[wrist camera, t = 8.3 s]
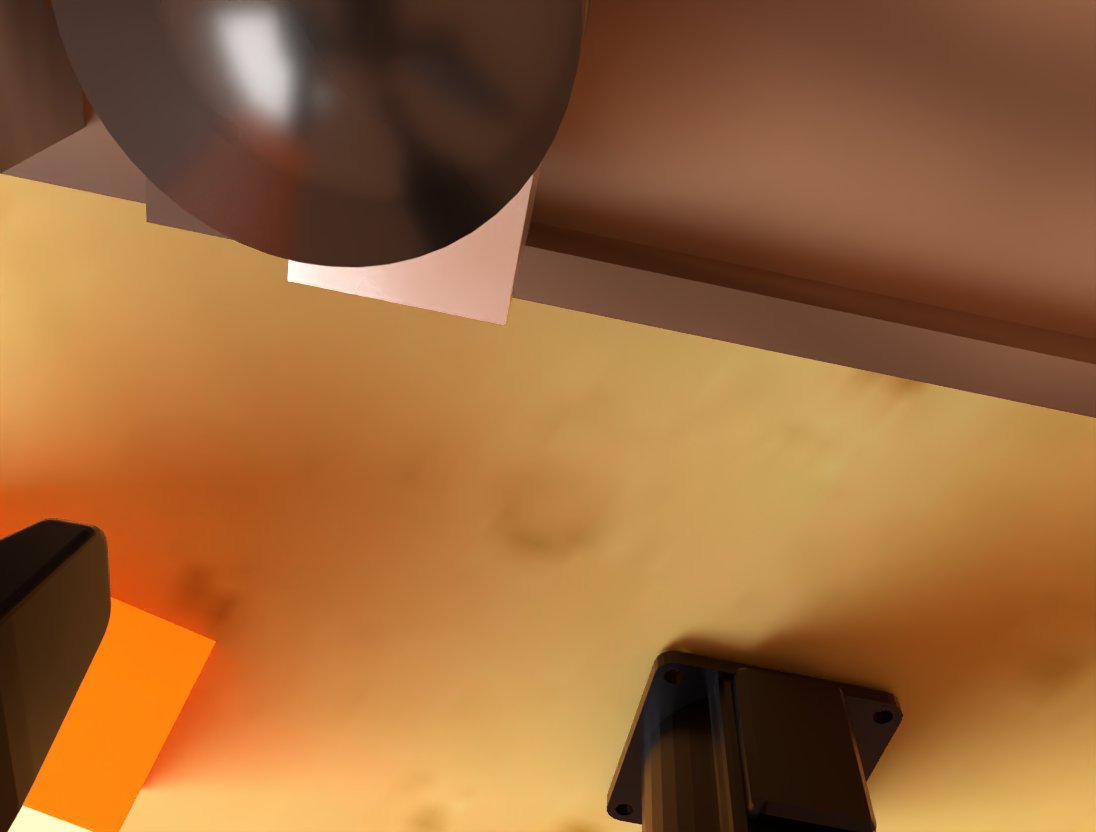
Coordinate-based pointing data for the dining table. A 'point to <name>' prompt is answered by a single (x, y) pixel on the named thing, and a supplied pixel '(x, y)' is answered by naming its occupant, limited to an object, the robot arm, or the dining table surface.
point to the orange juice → (115, 724)
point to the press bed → (769, 179)
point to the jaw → (343, 129)
